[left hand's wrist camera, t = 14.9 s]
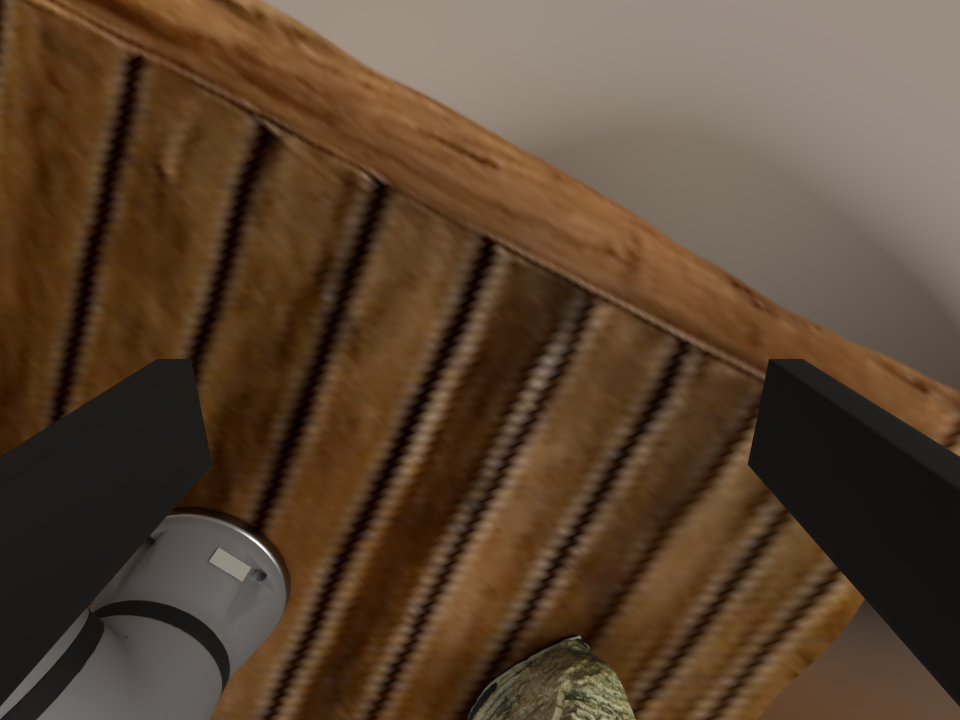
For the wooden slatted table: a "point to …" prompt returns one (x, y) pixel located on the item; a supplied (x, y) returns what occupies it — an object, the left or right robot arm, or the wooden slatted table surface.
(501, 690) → the fossil
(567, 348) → the wooden slatted table surface
